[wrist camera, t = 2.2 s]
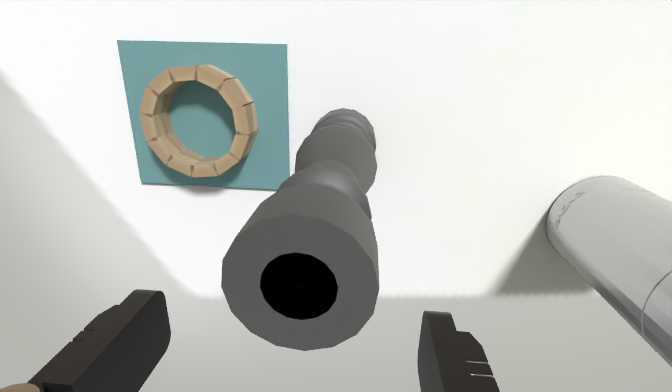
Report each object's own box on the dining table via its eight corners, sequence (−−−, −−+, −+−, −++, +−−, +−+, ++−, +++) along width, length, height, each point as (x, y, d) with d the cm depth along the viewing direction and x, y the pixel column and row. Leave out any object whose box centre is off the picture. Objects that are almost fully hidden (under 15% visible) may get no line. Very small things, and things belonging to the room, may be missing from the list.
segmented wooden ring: (272, 94, 35) (263, 98, 32) (237, 183, 39) (227, 193, 36) (173, 46, 34) (156, 45, 31) (147, 141, 38) (129, 148, 35)
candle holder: (300, 141, 37) (180, 286, 14) (342, 94, 35) (287, 168, 12) (345, 182, 38) (307, 381, 15) (388, 139, 36) (424, 288, 13)
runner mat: (286, 44, 34) (285, 44, 33) (289, 188, 39) (289, 190, 38) (119, 40, 35) (116, 40, 35) (143, 181, 40) (141, 182, 39)
